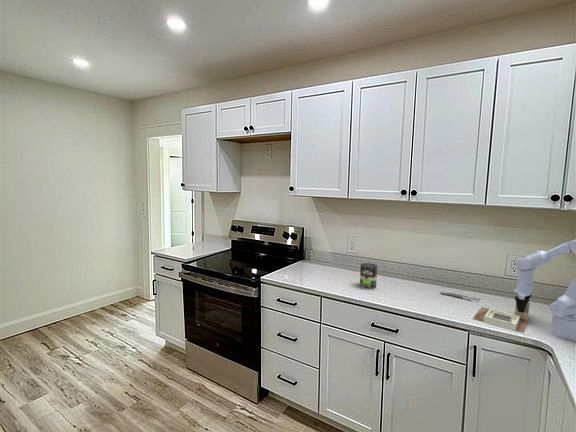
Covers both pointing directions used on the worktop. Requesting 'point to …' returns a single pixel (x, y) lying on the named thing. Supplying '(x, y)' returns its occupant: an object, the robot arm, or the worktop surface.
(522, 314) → the tall bronze block
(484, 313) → the board
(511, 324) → the cream square tray
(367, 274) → the coffee can
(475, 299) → the driftwood
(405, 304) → the worktop surface
